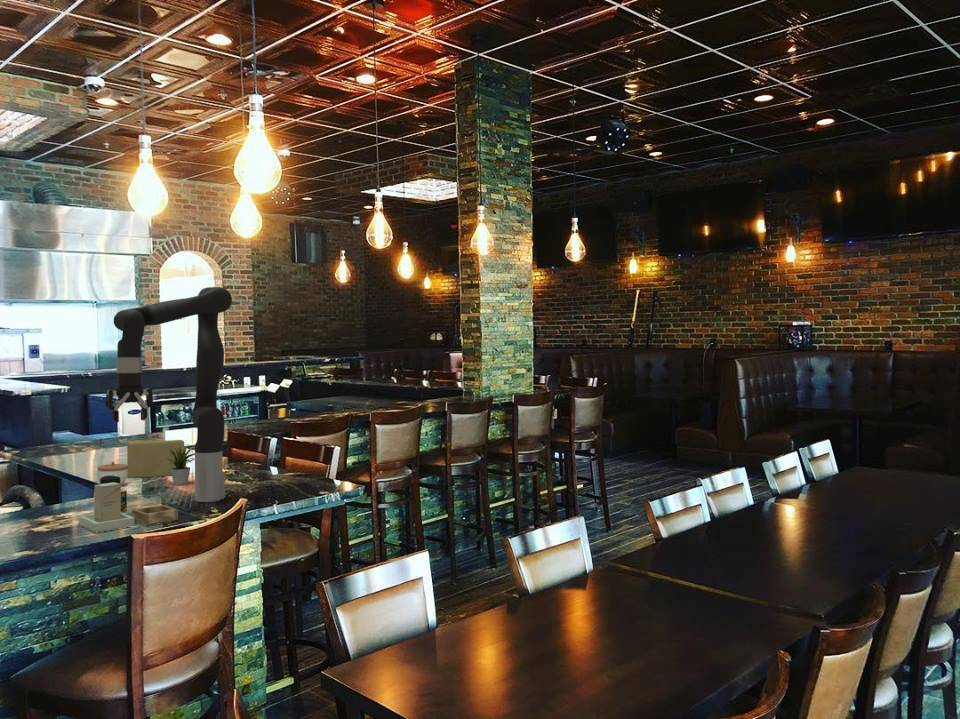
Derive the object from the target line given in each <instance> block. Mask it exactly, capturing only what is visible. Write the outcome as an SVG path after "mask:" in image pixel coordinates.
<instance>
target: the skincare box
mask: <svg viewBox="0 0 960 719" xmlns="http://www.w3.org/2000/svg"><path fill="white" fill-rule="evenodd" d="M121 489H122V486H121V484H120V483H115V482H112V483H105V484H100V483H99V484H94V493H95V499H94V498H93V501H94V500H95V515H94V521H96V522H98V523H100V522H106V521H112V520H118V519H121V513H122V512H121Z"/></svg>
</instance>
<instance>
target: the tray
mask: <svg viewBox="0 0 960 719" xmlns="http://www.w3.org/2000/svg"><path fill="white" fill-rule="evenodd" d="M94 515H95V514H94V513H92V514H85V515H78V526H79V525H81V526H83V527H82V528H84V527H85V528H84V529H86V528H87V529H86V530H88V529H89V530H88V531H90V530H91V531H90V532H92V531H93V533H94V532H95V534H99V533H98V532H101V533H105V532H104V531H107V532H111V531H110V530H113V531H116V530H115V529H119V528H124V527H129V526H135V522H134V517H132V515H128V514H125V513H124V512H121V519H118V520H112V521H106V522H100V523H98V522H96V521H94ZM81 526H80V527H81ZM119 530H120V529H119Z"/></svg>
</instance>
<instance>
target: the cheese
mask: <svg viewBox="0 0 960 719" xmlns="http://www.w3.org/2000/svg"><path fill="white" fill-rule="evenodd" d="M179 444H180V448H181V453H182V452H183V450H184V448H185V447H186V446H185V441H184V440H183V439H172V440H171V439H170V440H143V439H135V440H131V441H128V442H127V445H126V451H127V452H126V453H127V455H126V457H127V459H126V460H127V461H126V462H127V463H126V464H127V465H128V475H127V478H129V479H132V478H133V479H135V478H137V479H138V478H139V479H140V478H158V476H172V472H171V468H175V467H176V466H175V465H174V464H173V462H171V463H172V464H170V460H168V459H166V458H170V459H172V460H173V461H176V460H174V459H175V458H173V457H174V456H173V454H172V453H171V451H170V450H172V451H174V452H175V454H176V456H177V452H176V450H177V448H178V446H179ZM172 447H174V448H175V449H176V450H175V449H174V448H172ZM168 449H170V450H168ZM166 450H167V451H166ZM172 456H173V457H172ZM184 467H187V464H186V465H185V466H184Z"/></svg>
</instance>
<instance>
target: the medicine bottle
mask: <svg viewBox="0 0 960 719" xmlns="http://www.w3.org/2000/svg"><path fill="white" fill-rule="evenodd" d="M112 482H115V483H120V484H121V479H120V477H119V476H116V475H110V476H104V477H102V478H100V480H99V484H105V483H112ZM127 491H128V490H127V489H124V488H121V513H123V512H122V511H124V512H126V511H125V510H127V511H128V509H127V508H128V507H127V506H128V503H127V502H128V499H127V498H128V497H127V496H128V495H127ZM94 499H95V492H94V493H93V514H95V500H94Z"/></svg>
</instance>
